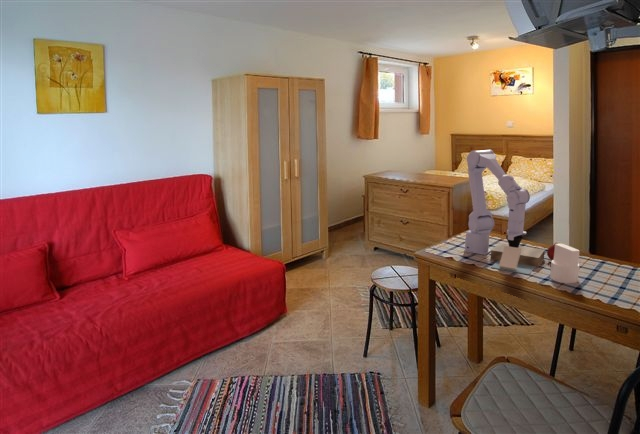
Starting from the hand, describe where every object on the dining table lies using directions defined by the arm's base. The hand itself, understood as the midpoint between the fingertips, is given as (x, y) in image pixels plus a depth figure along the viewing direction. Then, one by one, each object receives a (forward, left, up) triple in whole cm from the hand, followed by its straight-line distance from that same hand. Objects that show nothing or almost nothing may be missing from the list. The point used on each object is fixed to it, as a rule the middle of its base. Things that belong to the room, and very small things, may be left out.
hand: (513, 253), depth 176 cm
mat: (+1, -3, -5) cm, 6 cm away
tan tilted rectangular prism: (0, -4, -1) cm, 4 cm away
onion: (+13, +13, -5) cm, 19 cm away
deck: (0, +8, -5) cm, 9 cm away
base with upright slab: (+19, -5, -5) cm, 20 cm away
